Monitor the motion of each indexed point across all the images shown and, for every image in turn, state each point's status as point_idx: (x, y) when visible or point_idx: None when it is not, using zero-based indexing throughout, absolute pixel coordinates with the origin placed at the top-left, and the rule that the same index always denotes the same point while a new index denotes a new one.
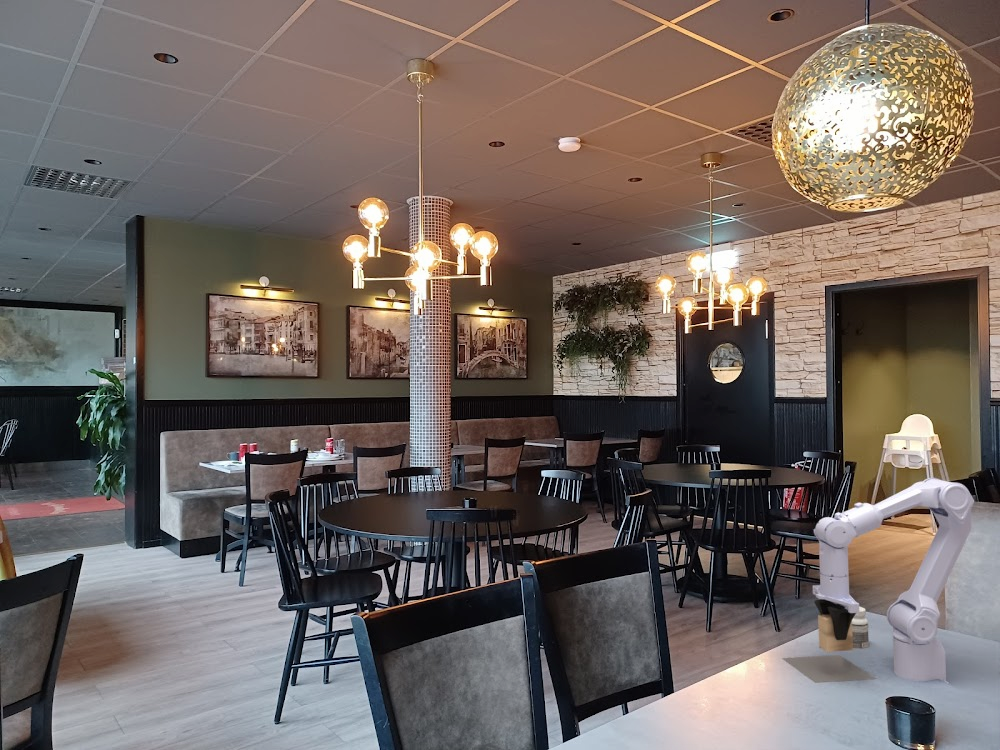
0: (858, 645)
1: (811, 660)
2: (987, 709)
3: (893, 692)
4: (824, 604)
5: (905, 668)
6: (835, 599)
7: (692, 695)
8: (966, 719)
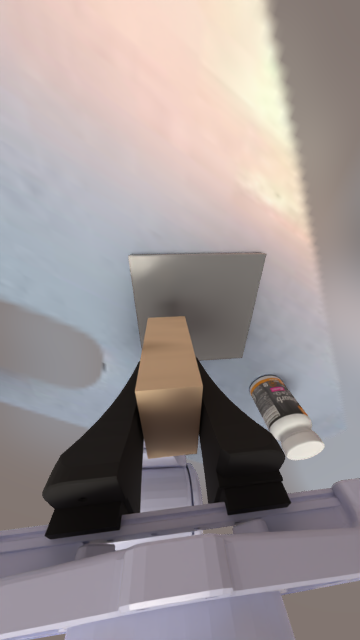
0: (256, 392)
1: (235, 307)
2: (72, 421)
3: (116, 363)
4: (215, 463)
5: None
6: (11, 630)
7: None
8: (35, 396)
